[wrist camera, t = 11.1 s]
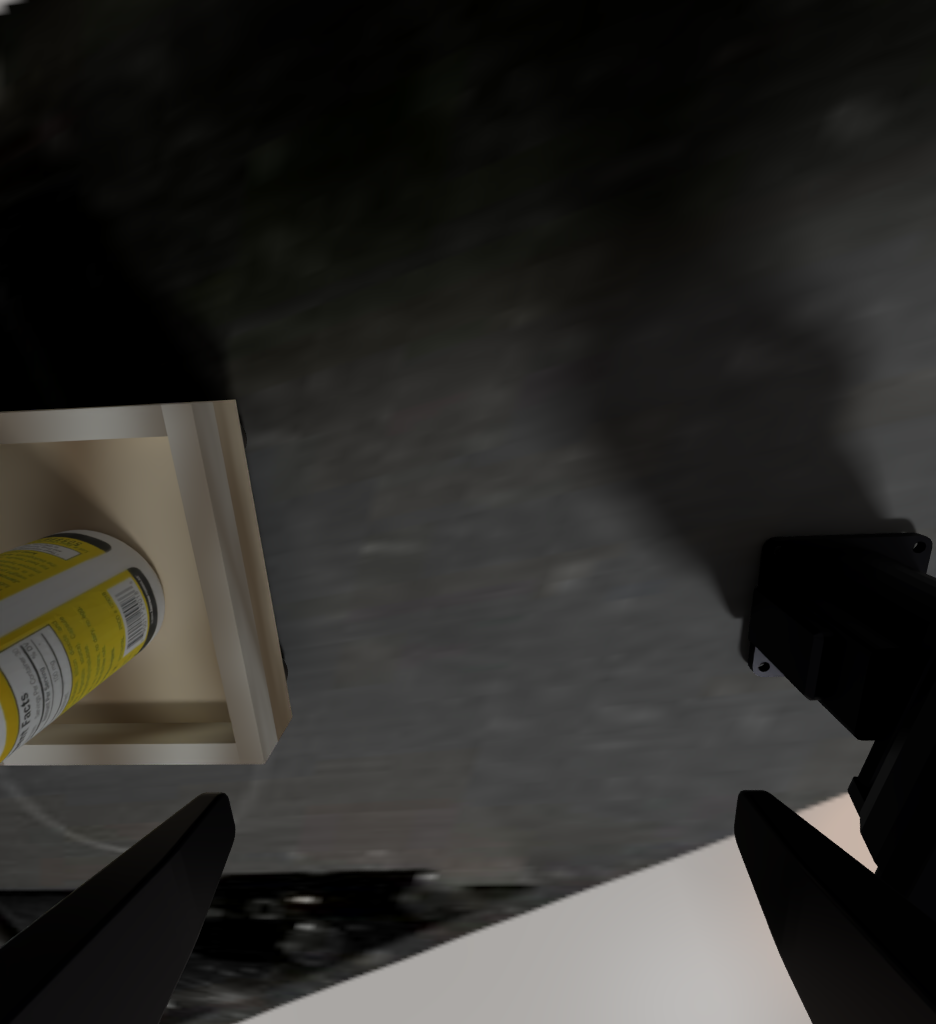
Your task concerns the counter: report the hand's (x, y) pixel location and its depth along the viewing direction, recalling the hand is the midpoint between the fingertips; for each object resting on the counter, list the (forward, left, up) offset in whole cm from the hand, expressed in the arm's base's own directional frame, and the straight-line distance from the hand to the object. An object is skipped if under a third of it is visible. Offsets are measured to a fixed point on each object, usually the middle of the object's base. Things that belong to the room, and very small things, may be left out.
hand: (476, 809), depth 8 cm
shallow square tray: (+15, 0, -13) cm, 20 cm away
